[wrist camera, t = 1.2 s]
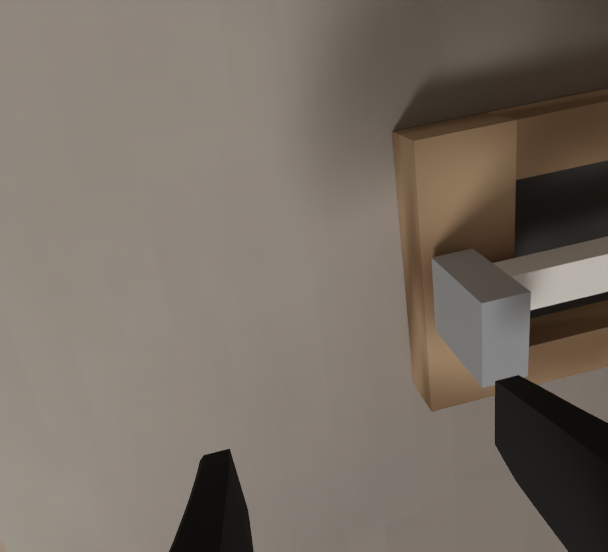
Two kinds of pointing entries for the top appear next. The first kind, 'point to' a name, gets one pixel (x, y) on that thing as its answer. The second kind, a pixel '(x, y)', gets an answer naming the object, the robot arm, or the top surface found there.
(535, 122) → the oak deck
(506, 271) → the sliding frame
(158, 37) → the top surface
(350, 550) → the top surface
